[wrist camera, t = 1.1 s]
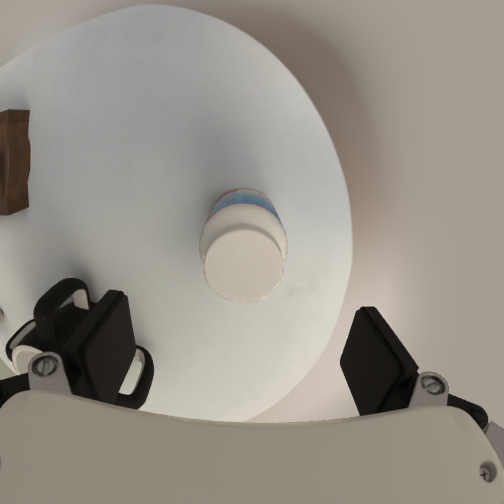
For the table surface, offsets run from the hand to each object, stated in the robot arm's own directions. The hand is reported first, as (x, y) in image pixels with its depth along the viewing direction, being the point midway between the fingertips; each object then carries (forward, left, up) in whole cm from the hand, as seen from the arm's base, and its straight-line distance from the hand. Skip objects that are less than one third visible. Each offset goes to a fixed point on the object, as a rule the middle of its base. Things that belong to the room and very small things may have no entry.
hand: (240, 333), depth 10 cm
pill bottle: (0, 0, -17) cm, 17 cm away
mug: (+15, -18, -17) cm, 29 cm away
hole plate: (-7, -32, -17) cm, 37 cm away
